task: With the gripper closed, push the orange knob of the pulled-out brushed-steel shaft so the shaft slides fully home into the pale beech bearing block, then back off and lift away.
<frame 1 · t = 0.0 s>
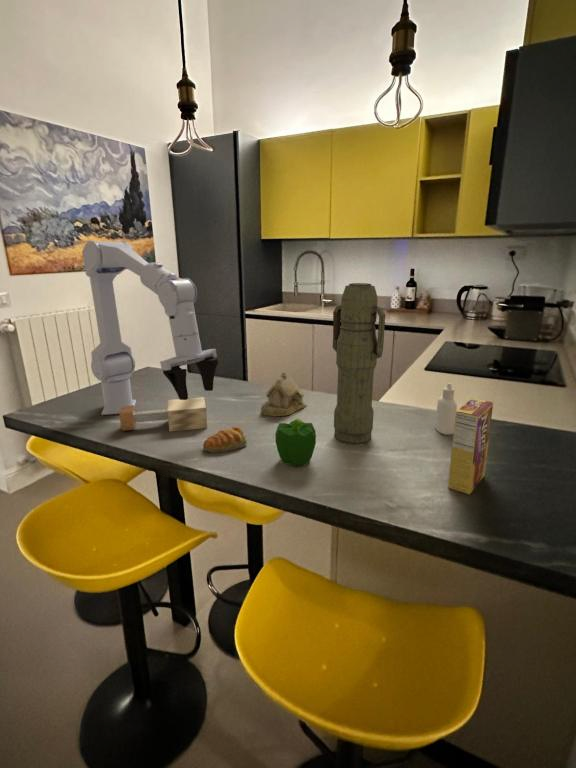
hand: (196, 394, 96), 11 cm above the breakfast bar, tool pointing down, fingers open, 7 cm apart
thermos: (352, 437, 100), on the breakfast bar
pastry: (226, 447, 96), on the breakfast bar
bearing block: (188, 423, 107), on the breakfast bar
ceramic model: (283, 408, 118), on the breakfast bar
candy box: (465, 482, 80), on the breakfast bar
eye dropper bottle: (443, 431, 103), on the breakfast bar
bell pepper: (295, 461, 88), on the breakfast bar
shaft: (155, 415, 105), point 3 cm above the breakfast bar, slide at -5.0 cm
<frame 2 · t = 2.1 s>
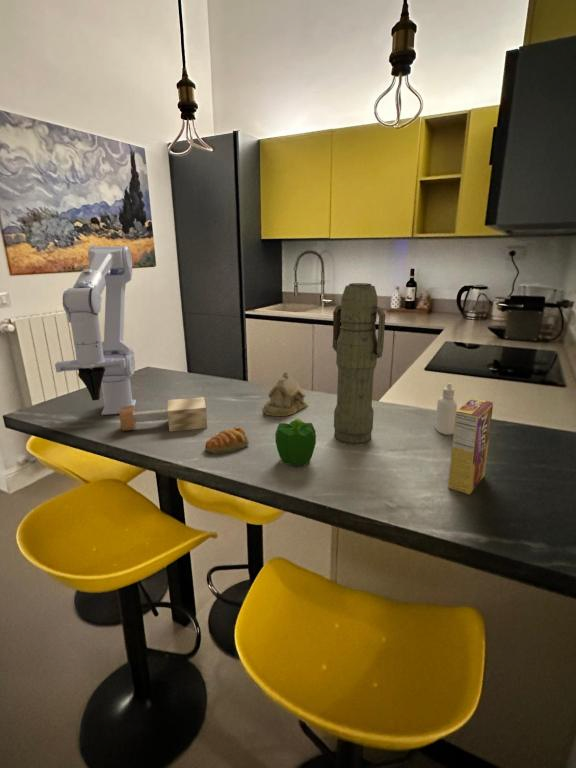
hand: (96, 398, 100), 8 cm above the breakfast bar, tool pointing down, fingers closed
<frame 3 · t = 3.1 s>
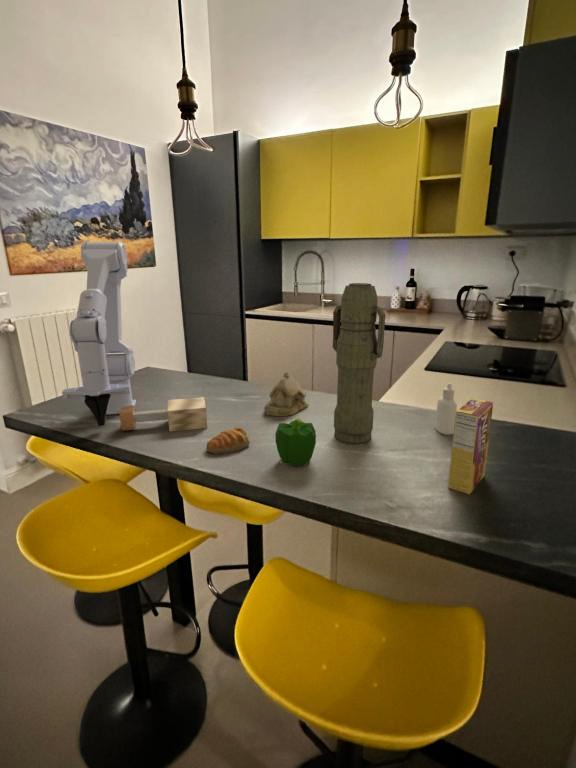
hand: (102, 424, 102), 2 cm above the breakfast bar, tool pointing down, fingers closed
nothing on the breakfast bar moved.
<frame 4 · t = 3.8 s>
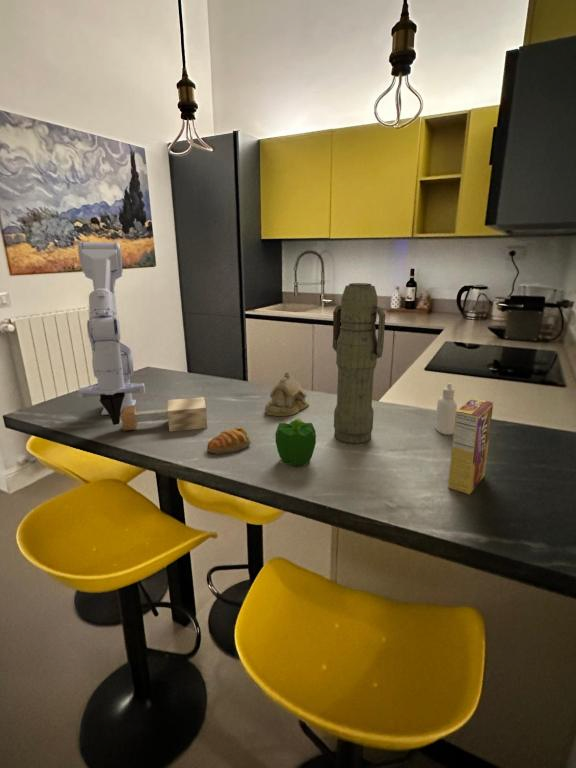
hand: (116, 422, 103), 2 cm above the breakfast bar, tool pointing down, fingers closed
shaft: (157, 415, 105), point 3 cm above the breakfast bar, slide at -4.7 cm, touching gripper
everything else where it was.
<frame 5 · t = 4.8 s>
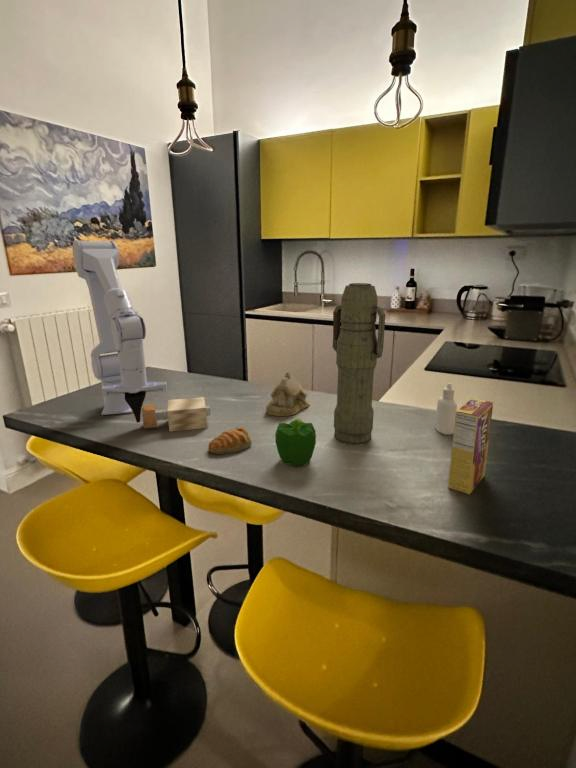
hand: (138, 420, 104), 2 cm above the breakfast bar, tool pointing down, fingers closed
shaft: (177, 413, 106), point 3 cm above the breakfast bar, slide at 0.1 cm, touching gripper
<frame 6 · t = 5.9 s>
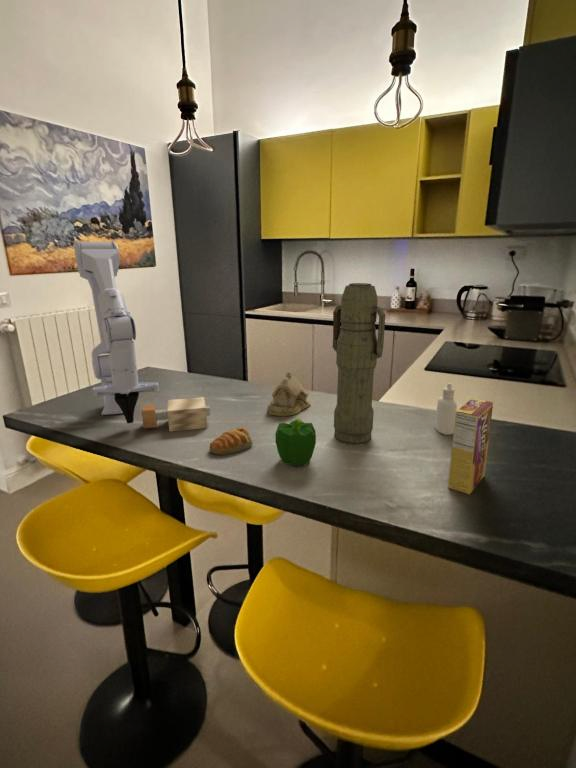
hand: (130, 421, 104), 2 cm above the breakfast bar, tool pointing down, fingers closed
shaft: (176, 413, 106), point 3 cm above the breakfast bar, slide at 0.0 cm
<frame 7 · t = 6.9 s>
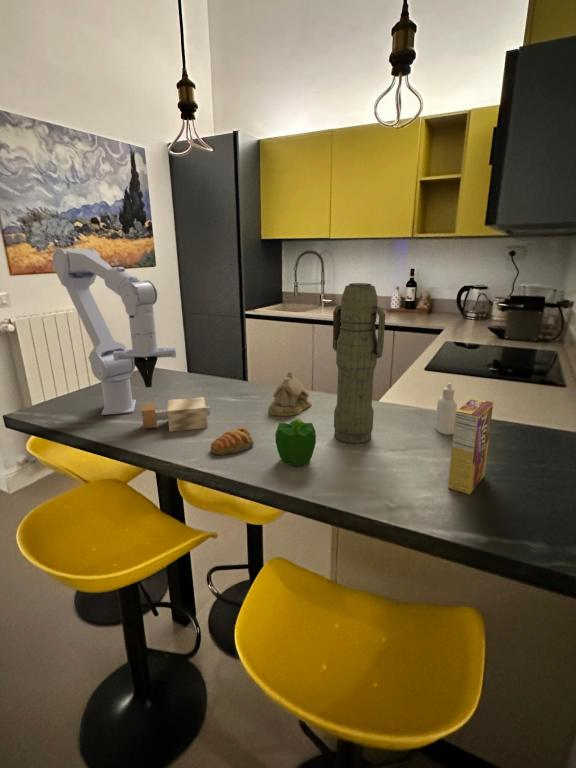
hand: (148, 386, 107), 9 cm above the breakfast bar, tool pointing down, fingers closed
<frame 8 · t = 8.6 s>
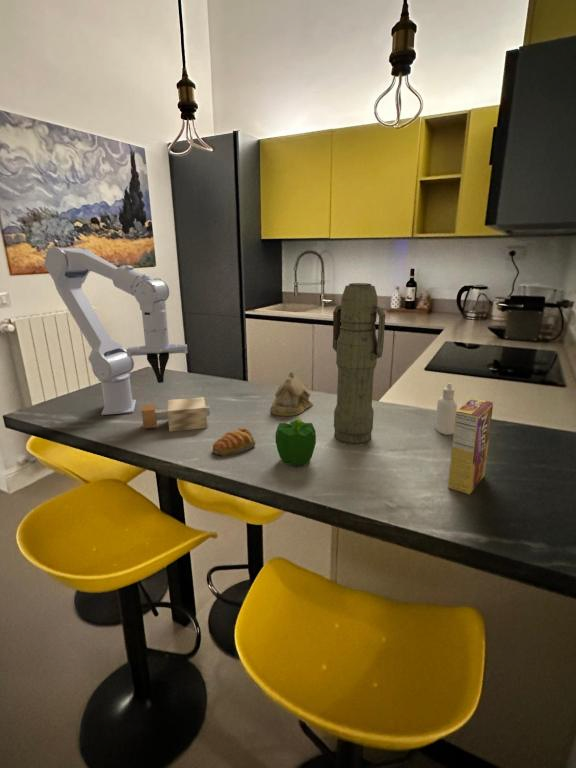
hand: (160, 381, 110), 9 cm above the breakfast bar, tool pointing down, fingers closed
at the end: shaft slide at 0.0 cm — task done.
